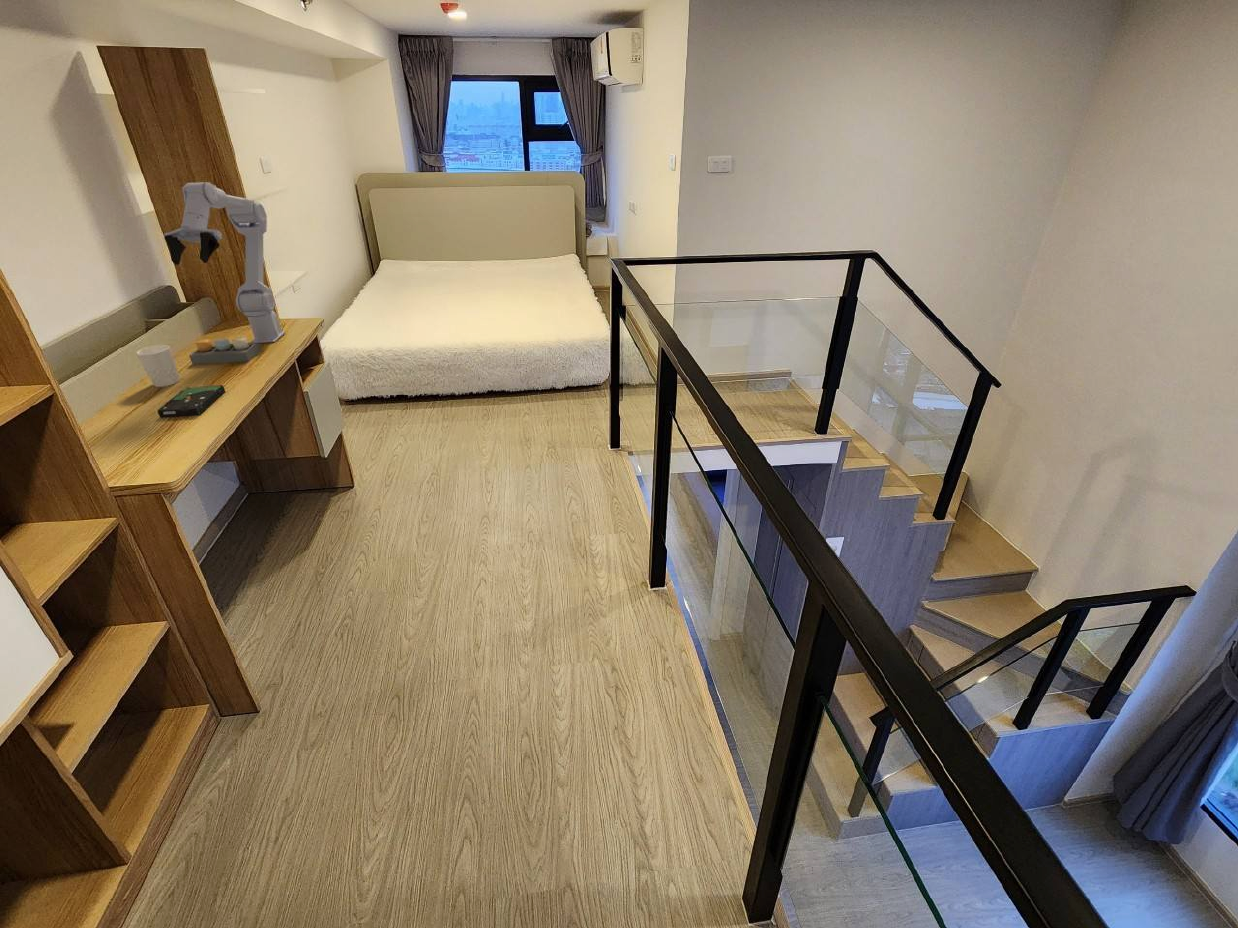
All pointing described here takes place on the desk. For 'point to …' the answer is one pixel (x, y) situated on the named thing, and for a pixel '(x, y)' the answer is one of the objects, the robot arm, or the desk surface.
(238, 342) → the button ivory
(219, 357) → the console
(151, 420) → the desk surface
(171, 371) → the white cup
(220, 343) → the grey rounded dome
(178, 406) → the disk drive
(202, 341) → the button orange
